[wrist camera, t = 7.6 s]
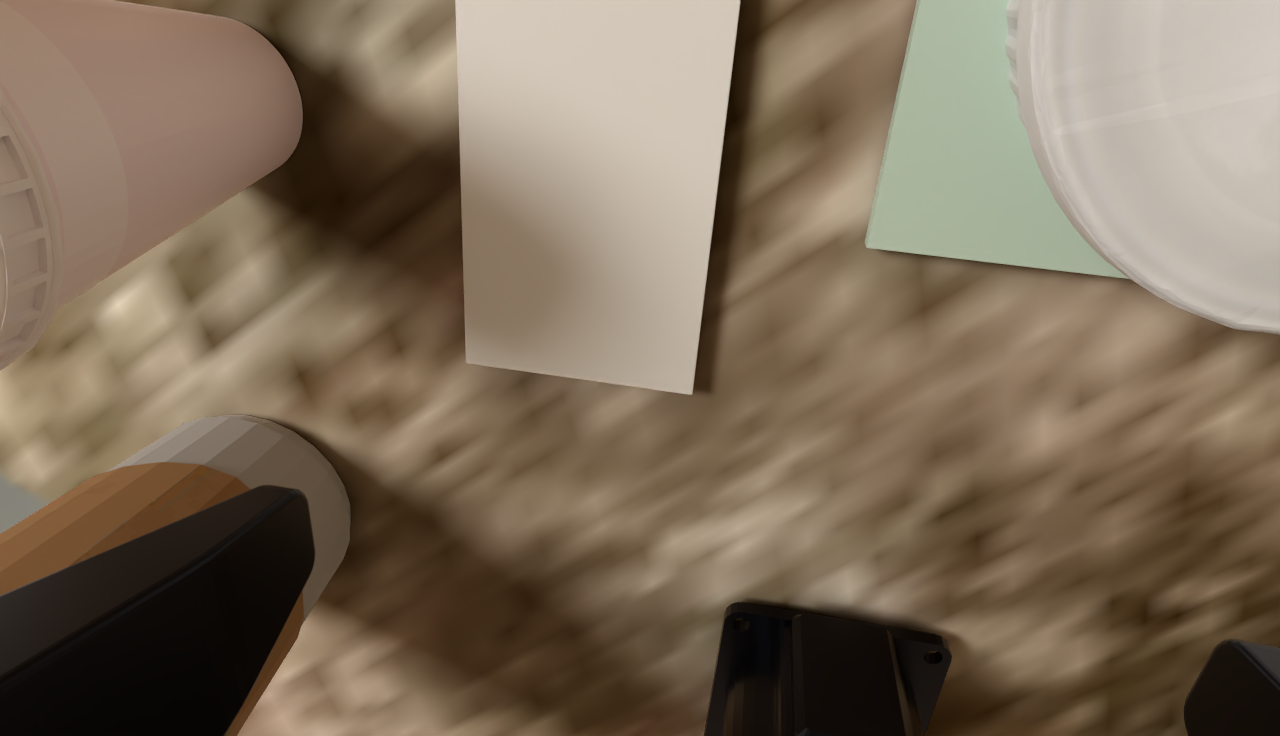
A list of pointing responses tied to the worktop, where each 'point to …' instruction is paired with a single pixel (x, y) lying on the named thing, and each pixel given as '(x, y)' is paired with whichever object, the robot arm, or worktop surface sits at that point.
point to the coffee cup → (188, 508)
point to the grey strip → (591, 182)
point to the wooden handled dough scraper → (967, 154)
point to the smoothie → (122, 140)
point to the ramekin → (1162, 141)
